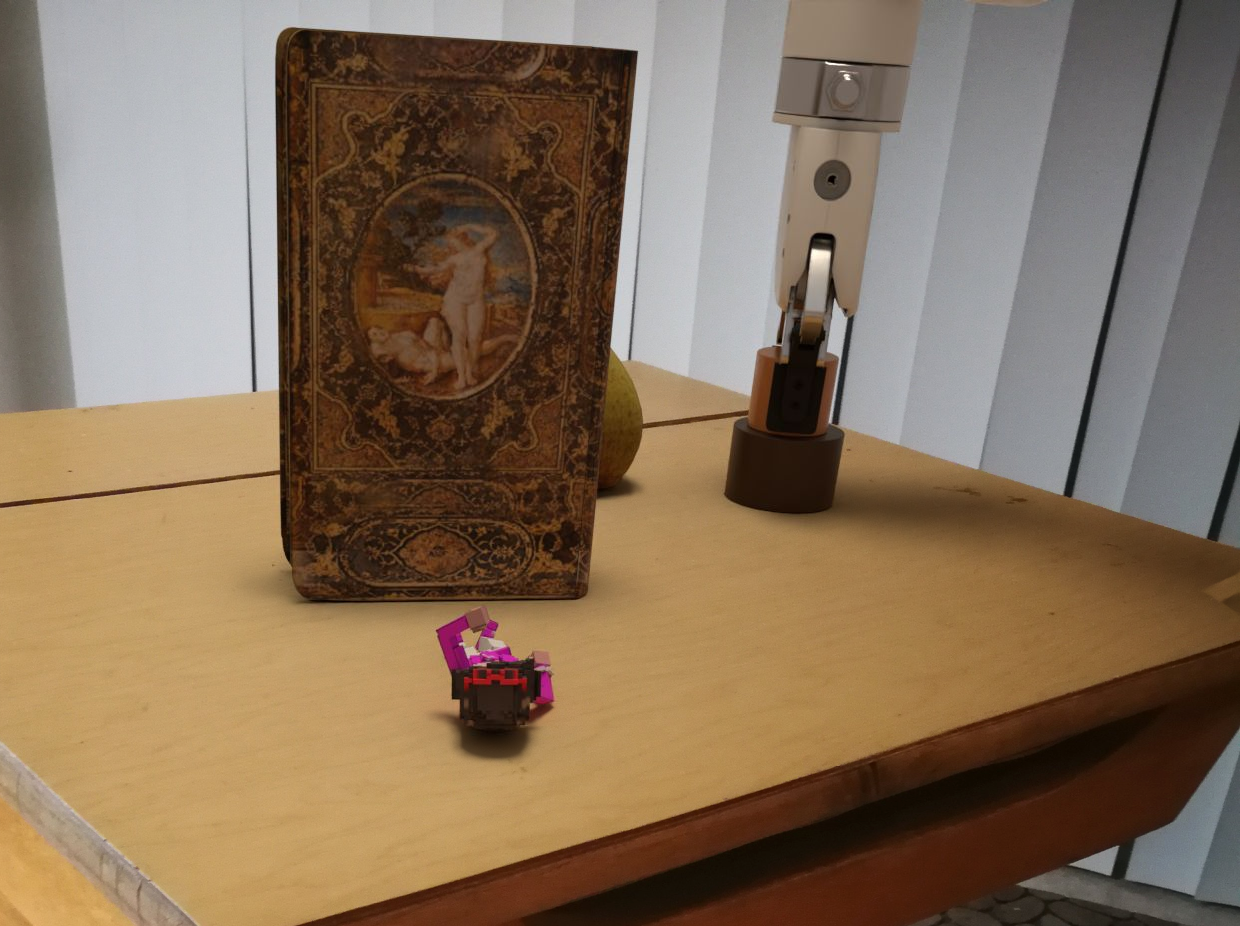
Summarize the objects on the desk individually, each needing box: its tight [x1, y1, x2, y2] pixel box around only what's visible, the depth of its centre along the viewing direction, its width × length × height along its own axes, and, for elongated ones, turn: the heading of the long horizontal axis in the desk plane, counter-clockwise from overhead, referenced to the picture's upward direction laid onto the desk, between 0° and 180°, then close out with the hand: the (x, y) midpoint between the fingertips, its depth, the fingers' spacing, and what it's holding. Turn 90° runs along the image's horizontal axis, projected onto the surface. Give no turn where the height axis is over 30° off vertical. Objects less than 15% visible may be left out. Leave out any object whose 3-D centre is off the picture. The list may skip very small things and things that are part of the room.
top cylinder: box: [747, 346, 840, 437], centre depth 98 cm, size 5×5×4 cm
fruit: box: [597, 347, 644, 490], centre depth 99 cm, size 9×9×12 cm
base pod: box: [724, 416, 846, 514], centre depth 101 cm, size 7×7×4 cm
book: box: [274, 26, 639, 602], centre depth 76 cm, size 16×6×25 cm, turn 102°
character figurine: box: [435, 604, 555, 732], centre depth 67 cm, size 6×5×12 cm
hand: (788, 418), depth 99 cm, fingers closed on top cylinder, 5 cm apart
